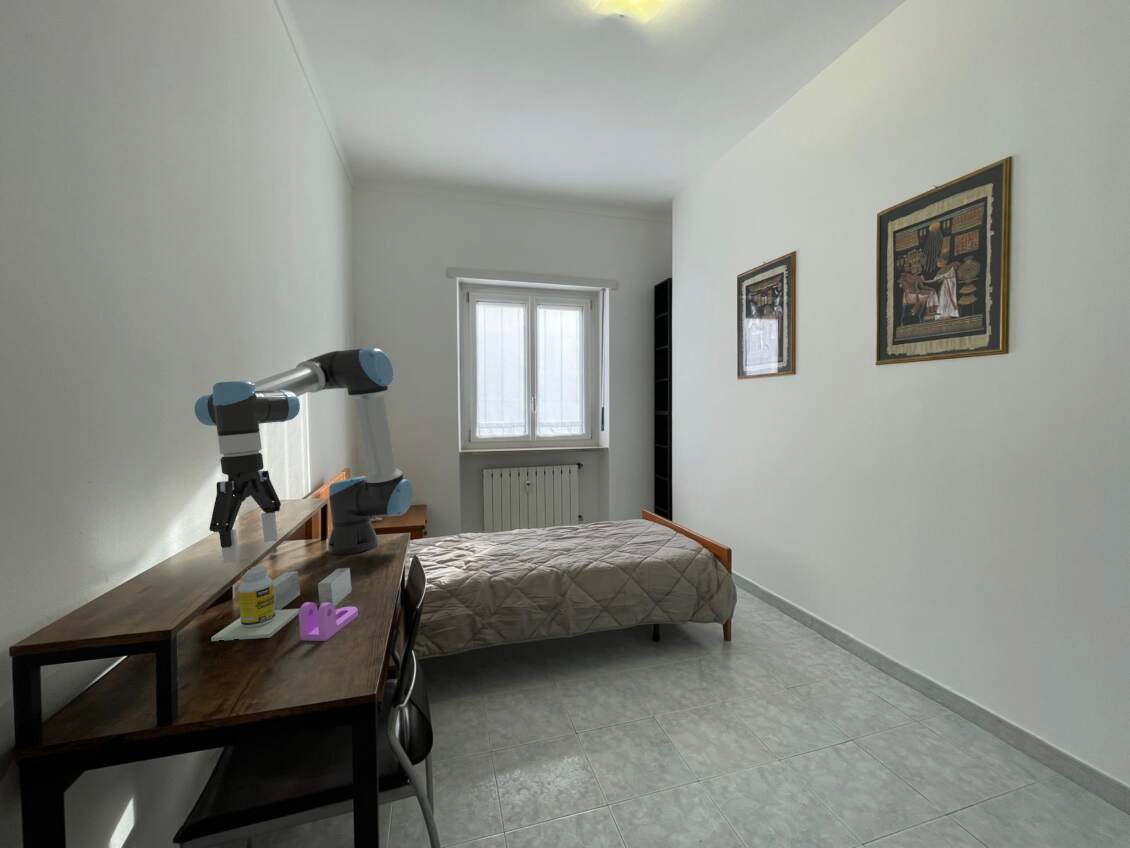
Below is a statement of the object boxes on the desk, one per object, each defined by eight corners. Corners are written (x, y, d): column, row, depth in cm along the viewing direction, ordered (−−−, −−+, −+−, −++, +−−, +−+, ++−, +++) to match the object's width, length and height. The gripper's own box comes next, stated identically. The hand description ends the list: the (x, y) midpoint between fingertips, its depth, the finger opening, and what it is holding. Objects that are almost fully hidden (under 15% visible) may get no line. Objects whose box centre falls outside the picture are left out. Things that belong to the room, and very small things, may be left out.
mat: (248, 615, 113) (248, 611, 113) (300, 611, 113) (300, 608, 113) (211, 641, 101) (211, 637, 101) (269, 637, 101) (269, 633, 101)
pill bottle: (251, 631, 102) (246, 576, 102) (235, 625, 106) (229, 572, 105) (282, 618, 108) (277, 566, 107) (265, 613, 111) (261, 563, 111)
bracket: (325, 641, 98) (322, 607, 97) (301, 640, 99) (297, 607, 98) (363, 612, 111) (360, 582, 110) (340, 612, 111) (338, 582, 111)
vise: (268, 596, 124) (265, 573, 123) (351, 591, 124) (349, 567, 123) (242, 613, 114) (239, 588, 113) (333, 608, 114) (330, 582, 113)
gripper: (259, 447, 117) (269, 534, 118) (178, 463, 92) (192, 573, 94) (291, 445, 117) (300, 532, 119) (218, 461, 92) (231, 570, 94)
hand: (252, 550), depth 106 cm, fingers open, 13 cm apart
